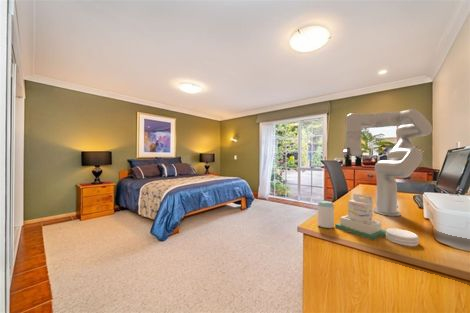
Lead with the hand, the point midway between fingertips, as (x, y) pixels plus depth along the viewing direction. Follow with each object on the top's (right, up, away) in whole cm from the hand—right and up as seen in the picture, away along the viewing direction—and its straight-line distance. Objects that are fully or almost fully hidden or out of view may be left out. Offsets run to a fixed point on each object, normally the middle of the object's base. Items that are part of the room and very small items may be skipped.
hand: (353, 166), depth 108 cm
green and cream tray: (-9, -28, -20) cm, 36 cm away
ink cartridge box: (-9, -27, -20) cm, 35 cm away
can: (-23, -29, -15) cm, 39 cm away
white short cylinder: (+1, -29, -30) cm, 42 cm away
